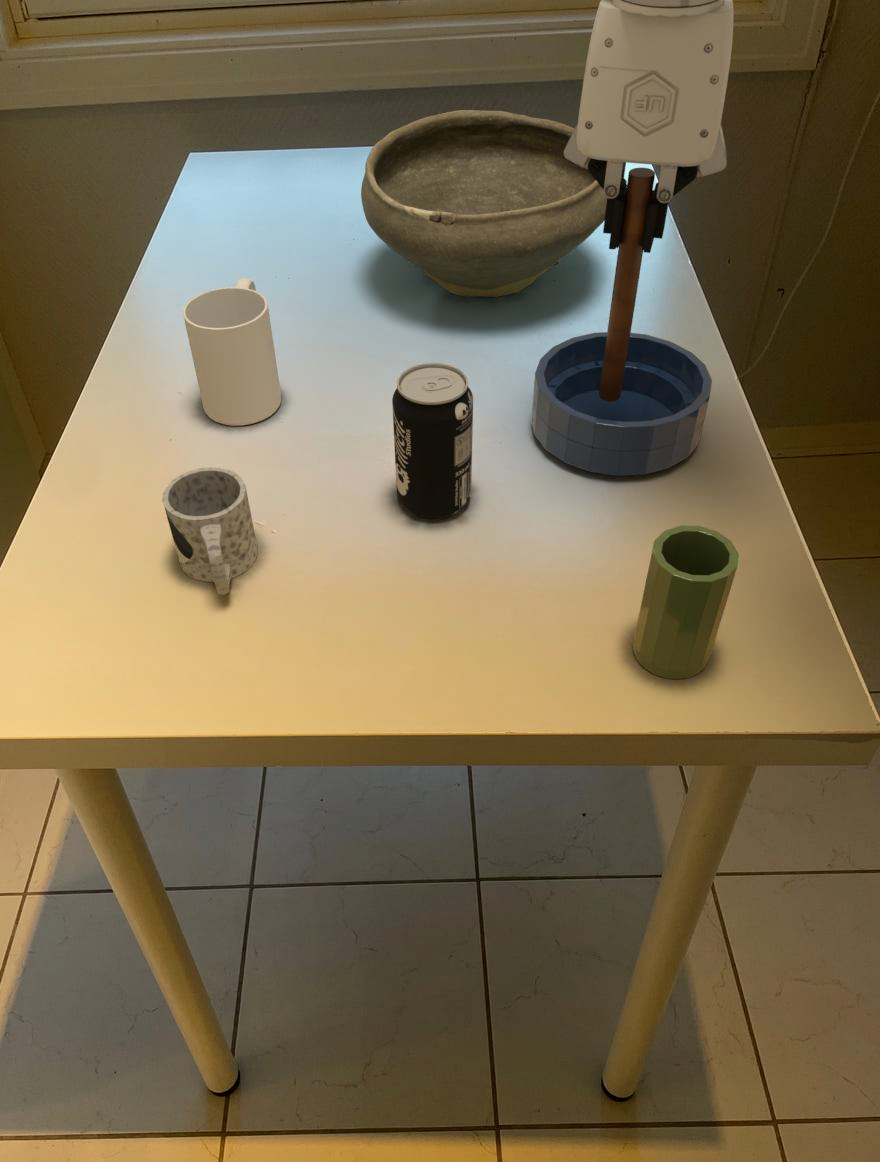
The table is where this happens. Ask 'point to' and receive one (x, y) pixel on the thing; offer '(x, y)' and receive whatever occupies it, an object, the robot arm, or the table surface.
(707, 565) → the utensil crock
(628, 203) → the cooking stick
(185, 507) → the mug
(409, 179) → the bowl
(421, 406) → the beverage can
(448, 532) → the table surface
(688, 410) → the mixing bowl
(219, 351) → the mug
